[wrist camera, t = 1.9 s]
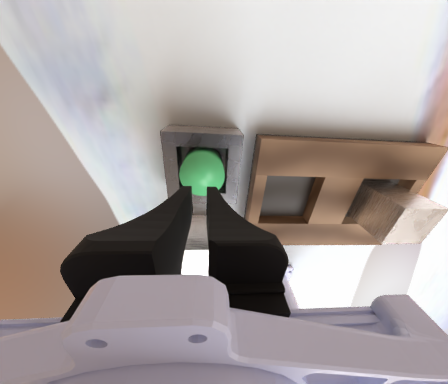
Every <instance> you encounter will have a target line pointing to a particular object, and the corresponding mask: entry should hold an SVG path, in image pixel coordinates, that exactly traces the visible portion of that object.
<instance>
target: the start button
mask: <svg viewBox="0 0 448 384" xmlns="http://www.w3.org/2000/svg"><path fill="white" fill-rule="evenodd" d="M179 177H180V181H181V184H182V185H183V186H192V194H194V195H198V196H207V187H217V188H218V190H219V189H220V188H221V187H222V185H223V183H224V179H225V173H224V167H223V161H222V158H221V156H220V154H219V153H218V152H217V151H216V150H214V149H213V148H205V147H195V148H193V149H191V150H190V151H189V152H188V153H187V155H186V156H185V159H184V161H183V163H182V165H181V168H180V172H179Z"/></svg>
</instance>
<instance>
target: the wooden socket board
mask: <svg viewBox="0 0 448 384" xmlns="http://www.w3.org/2000/svg"><path fill="white" fill-rule="evenodd" d="M447 150H448V147H444V146H440V145H435V144H431V143H424V142H404V141H383V140H362V139H342V138H321V137H301V136H280V135H259V134H256V141H255V148H254V155H253V162H252V169H251V176H250V183H249V190H248V197H247V204H246V211H245V218H244V219H245V220H247V221H248V222H250V223H252V224H253V225H255V226H257V227H259V228H261V229H263V230H265V231H268V232H270V233H272V234H275V235H276V236H277V238H278V239H279V241H280V242H281V244H282V245H382V244H381V243H380V242H379V241H378V240H376V239H375V238H374V237H373V236H372V235H371V234H369V233H368V232H367V231H366V230H365V229H364V228H363V227H361V226H360V225H359V224H358V223H357V222H356V221H355V220H353V219H352V218H351V217H350V216H349V215H348V214H347V211H348V209H349V207H350V205H351V203H352V201H353V199H354V197H355V195H356V193H357V191H358V189H359V187H360V185H361V183H362V181H391V182H394V183H396V184H398V185H400V186H402V187H404V188H406V189H408V190H410V191H412V192H415V193H418V192H419V191H420V189H421V188H422V186H423V185H424V183H425V182H426V181H427V179H428V178H429V176H430V175H431V173H432V172H433V170H434V169H435V168H436V166H437V165H438V163H439V162H440V160H441V159H442V158H443V156H444V155H445V153H446V152H447Z"/></svg>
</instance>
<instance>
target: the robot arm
mask: <svg viewBox="0 0 448 384" xmlns="http://www.w3.org/2000/svg"><path fill="white" fill-rule="evenodd" d="M192 213H193V206H192V186H182V187H181V188H180V189H179V190H177V191H176V192H175V193H174V194H173V195H172V196H171V197H169V198H168V199H167V200H166V201H164V202H163V203H162V204H160V205H159V206H157V207H156V208H154V209H153V210H151V211H149V212H147V213H146V214H144V215H141V216H139V217H137V218H135V219H133V220H131V221H129V222H126V223H124V224H121V225H118V226H116V227H113V228H110V229H107V230H103V231H100V232H96V233H93V234H89V235H86V237H85V238H84V239H83V240H82V241H81V242H80V243H79V244H78V245H77V246H76V247H75V249H74V250H73V251H72V252H71V253H70V254H69V255H68V256H67V258H65V260H64V261H63V263H62V264H61V269H60V272H61V275H62V277H63V280H64V281H65V283H66V284H67V286H68V287H69V289H70V290H71V292H72V294H73V295H74V297H75V300H74V302H73V303H72V305H71V306H70V308H69V309H68V311H67V313H66V314H65V315H64V317H63V318H40V319H39V318H38V319H12V320H0V384H448V335H447V334H446V333H445V332H444V331H443V330H442V329H441V328H440V327H439V326H438V325H437V324H436V323H435V322H434V321H433V320H432V319H431V318H430V317H429V316H428V315H427V314H426V313H425V312H424V311H423V310H422V309H421V308H420V307H419V306H418V305H417V304H416V303H415V302H414V301H413V300H412V299H411V298H410V297H409V296H408V295H384V296H380V297H377V298H376V299H375V300H374V301H373V302H372V304H371V306H370V307H344V308H316V309H299V306H298V304H297V302H296V299H295V297H294V294H293V292H292V289H291V287H290V285H289V280H290V277H291V275H292V272H293V270H294V269H293V267H292V266H288V257H287V254H286V252H285V250H284V248H283V246H282V244H281V242H280V241H279V239H278V238H277V236H276V235H275V234H272V233H270V232H268V231H265V230H263V229H261V228H259V227H257V226H255V225H253V224H252V223H250V222H248V221H247V220H245V219H244V218H243V217H241V216H240V215H239V214H237V213H236V212H235V211H234V210H233V209H232V208H231V207H230V206H229V205H228V203H227V202H226V201H225V200H224V198H223V197H222V195H221V194H220V192H219V190H218V188H217V187H207V209H206V225H207V238H208V276H205V275H198V274H186V275H181V270H182V262H183V255H184V251H185V246H186V242H187V238H188V234H189V230H190V226H191V222H192Z"/></svg>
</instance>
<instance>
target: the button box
mask: <svg viewBox="0 0 448 384" xmlns="http://www.w3.org/2000/svg"><path fill="white" fill-rule="evenodd" d="M160 135H161V143H162V151H163V160H164V168H165V177H166V185H167V194H168V198H169V197H171V196H172V195H173V194H174V193H175V192H176V191H177V190H179V189H180V188H181V187H182V186H183V185H182V184H181V181H180V177H179V172H180V168H181V165H182V163H183V161H184V159H185V156H186V155H187V153H188V152H189V151H190V150H191V149H193V148H195V147H205V148H213V149H214V150H216V151H217V152H218V153H219V154H220V156H221V158H222V161H223V167H224V173H225V179H224V183H223V185H222V187H221V188H220V189H219V192H220V194H221V195H222V197H223V198H224V200H225V201H226V202H227V203H232V204H236V201H237V192H238V183H239V174H240V165H241V155H242V146H243V137H244V135H243V134H242V132H241V131H240V130H239V129H238V128H220V127H200V126H180V125H168V126H167V127H166V128H164V129H163V130H161V131H160ZM192 203H207V196H198V195H194V194H192Z"/></svg>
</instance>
